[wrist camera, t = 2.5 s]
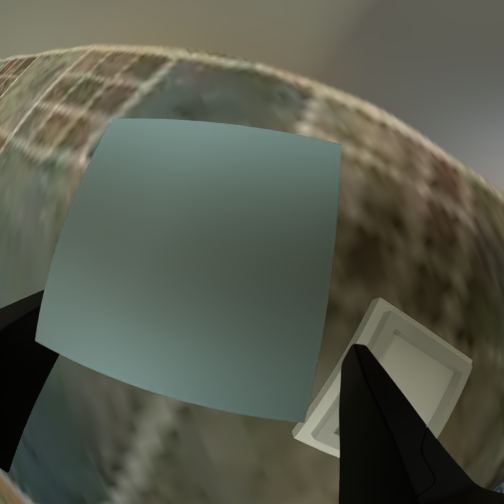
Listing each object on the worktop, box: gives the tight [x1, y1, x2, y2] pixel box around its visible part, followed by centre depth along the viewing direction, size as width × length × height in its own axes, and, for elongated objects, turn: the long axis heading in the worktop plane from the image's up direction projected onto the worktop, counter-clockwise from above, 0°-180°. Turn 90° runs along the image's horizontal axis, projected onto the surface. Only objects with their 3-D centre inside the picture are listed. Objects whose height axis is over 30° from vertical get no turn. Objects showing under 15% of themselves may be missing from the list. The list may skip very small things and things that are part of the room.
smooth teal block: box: [35, 119, 341, 423], centre depth 11 cm, size 5×5×13 cm
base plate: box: [292, 297, 473, 458], centre depth 14 cm, size 10×10×2 cm
